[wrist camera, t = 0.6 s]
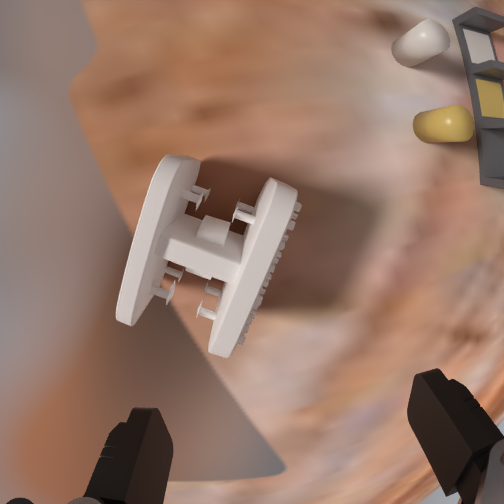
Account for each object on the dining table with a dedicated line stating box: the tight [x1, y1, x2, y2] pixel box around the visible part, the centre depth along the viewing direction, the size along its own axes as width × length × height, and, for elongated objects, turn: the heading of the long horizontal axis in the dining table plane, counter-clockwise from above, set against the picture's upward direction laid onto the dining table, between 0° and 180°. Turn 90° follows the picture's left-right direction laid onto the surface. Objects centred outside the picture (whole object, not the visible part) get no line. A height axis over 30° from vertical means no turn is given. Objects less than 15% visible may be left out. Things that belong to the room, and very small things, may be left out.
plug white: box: [392, 19, 450, 67], centre depth 25 cm, size 4×4×7 cm
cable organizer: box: [116, 154, 302, 358], centre depth 28 cm, size 15×11×12 cm
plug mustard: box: [413, 105, 474, 143], centre depth 27 cm, size 4×4×7 cm
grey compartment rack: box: [452, 7, 504, 189], centre depth 26 cm, size 22×6×6 cm, turn 8°
